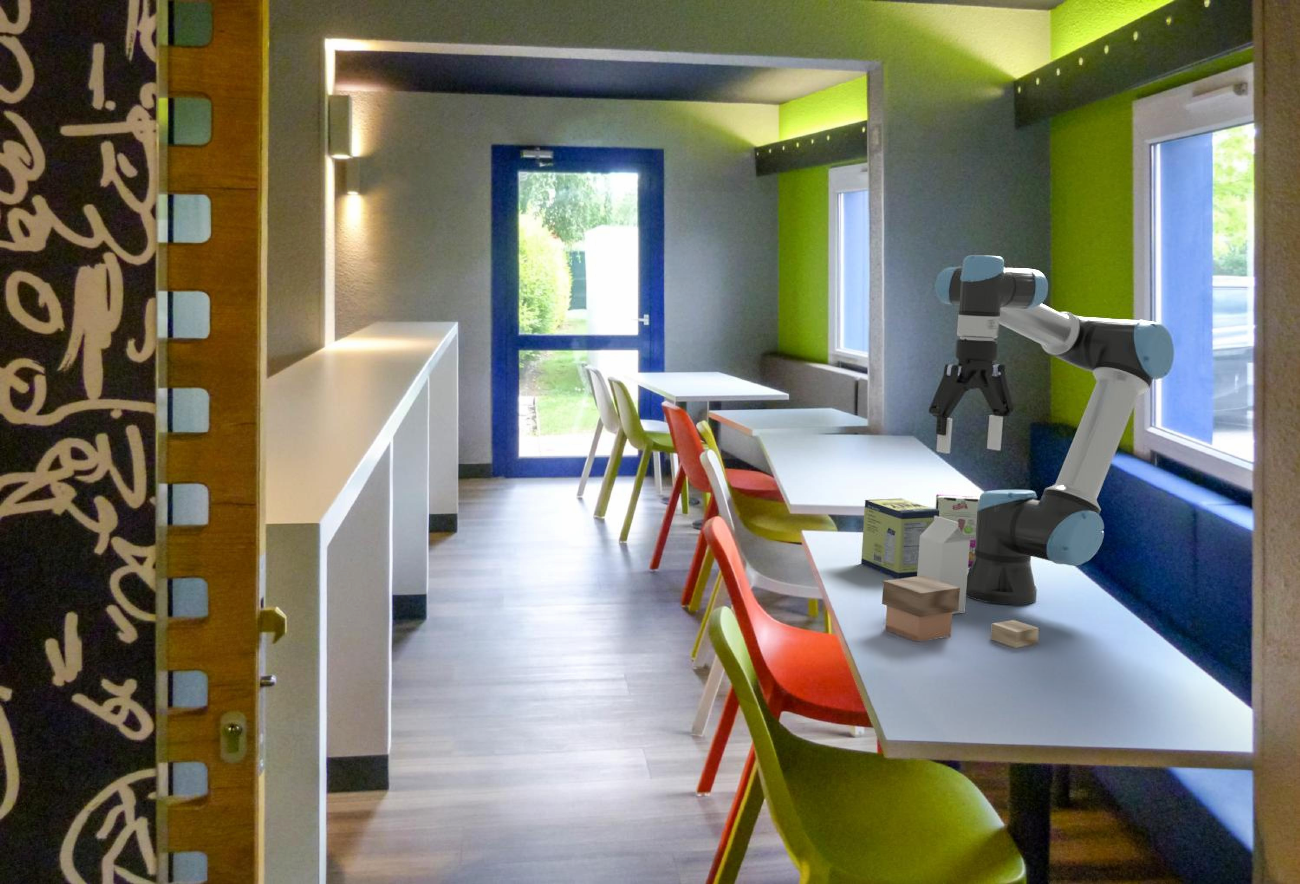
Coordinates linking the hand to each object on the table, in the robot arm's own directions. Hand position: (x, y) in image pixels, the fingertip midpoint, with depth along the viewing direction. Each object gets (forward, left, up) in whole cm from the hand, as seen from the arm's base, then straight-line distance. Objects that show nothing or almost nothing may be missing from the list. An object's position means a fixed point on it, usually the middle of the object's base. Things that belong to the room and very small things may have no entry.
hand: (968, 451), depth 233 cm
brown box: (+9, -1, -30) cm, 31 cm away
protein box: (-24, -41, -35) cm, 59 cm away
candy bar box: (-42, -40, -35) cm, 68 cm away
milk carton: (-7, -11, -35) cm, 37 cm away
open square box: (+9, -1, -35) cm, 36 cm away
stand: (-4, +11, -35) cm, 37 cm away
